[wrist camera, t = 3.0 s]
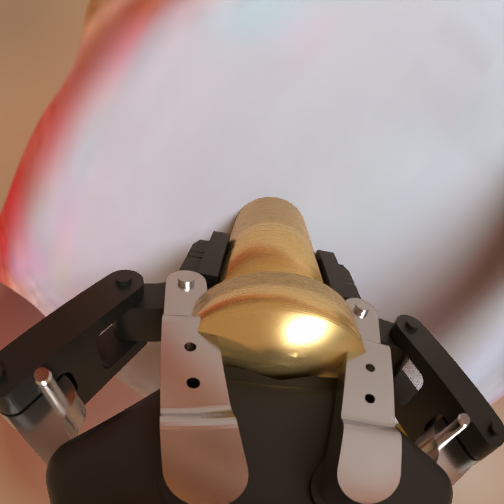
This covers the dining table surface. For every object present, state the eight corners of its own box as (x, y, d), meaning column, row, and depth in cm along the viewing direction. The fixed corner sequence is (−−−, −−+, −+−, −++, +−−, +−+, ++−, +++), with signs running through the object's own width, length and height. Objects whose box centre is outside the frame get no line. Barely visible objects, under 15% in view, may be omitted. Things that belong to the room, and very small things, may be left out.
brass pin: (326, 197, 14) (405, 327, 5) (303, 278, 17) (326, 431, 8) (229, 178, 14) (167, 293, 5) (217, 263, 17) (174, 415, 8)
